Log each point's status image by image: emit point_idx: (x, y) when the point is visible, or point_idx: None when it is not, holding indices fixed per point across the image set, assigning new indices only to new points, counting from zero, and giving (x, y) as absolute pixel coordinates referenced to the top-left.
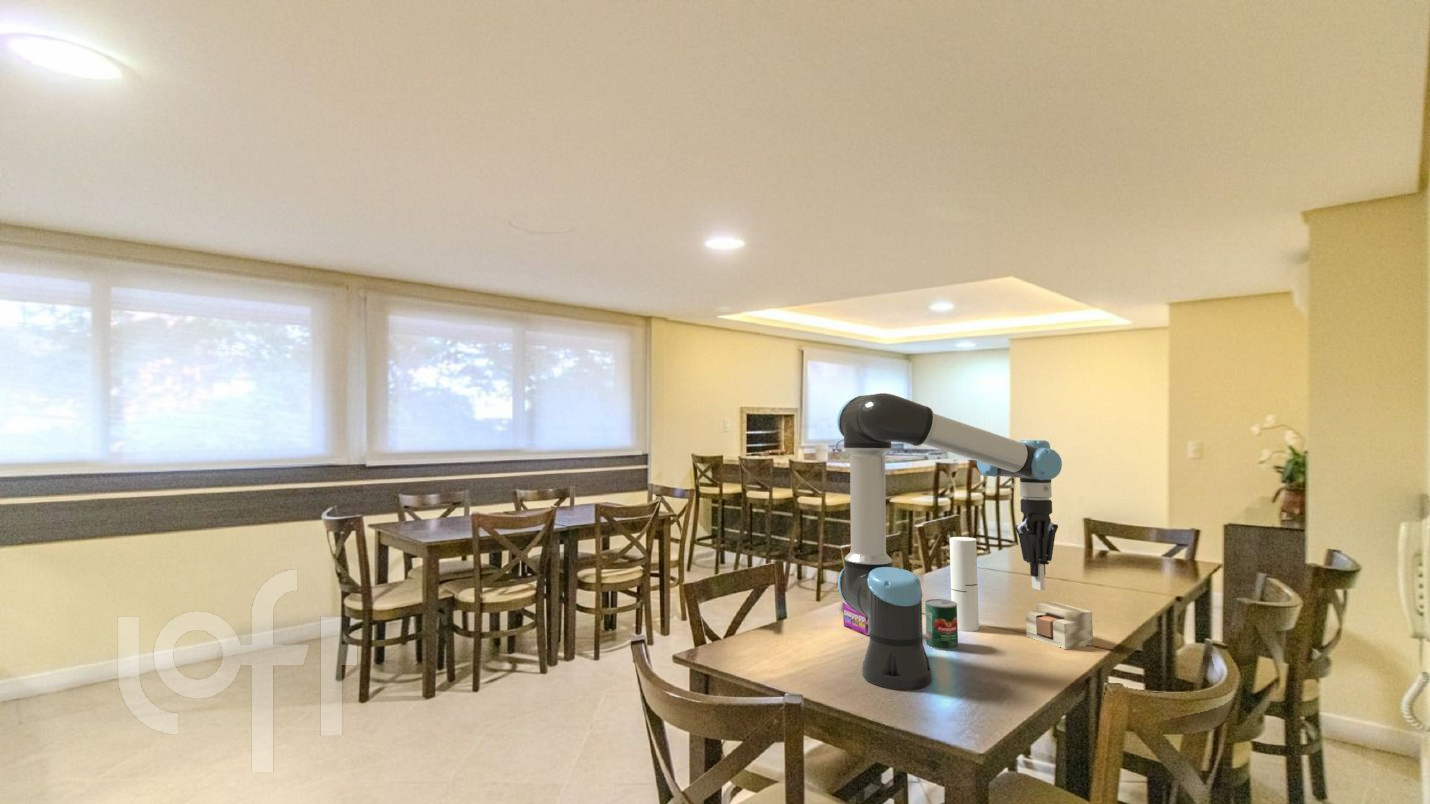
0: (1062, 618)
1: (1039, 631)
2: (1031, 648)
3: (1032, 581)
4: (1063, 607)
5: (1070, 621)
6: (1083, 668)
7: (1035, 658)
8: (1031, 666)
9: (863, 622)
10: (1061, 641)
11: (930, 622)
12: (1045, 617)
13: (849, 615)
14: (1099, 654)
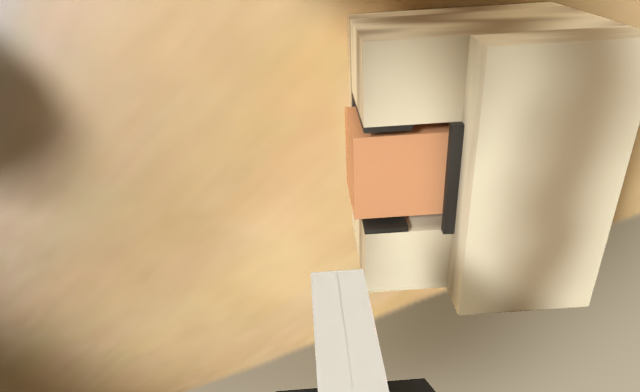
0: (442, 230)
1: (346, 125)
2: (229, 167)
3: (314, 323)
4: (547, 195)
5: (436, 271)
6: (249, 363)
7: (158, 260)
8: (87, 312)
9: None
10: (355, 224)
11: None
12: (408, 149)
13: None
14: (424, 292)
